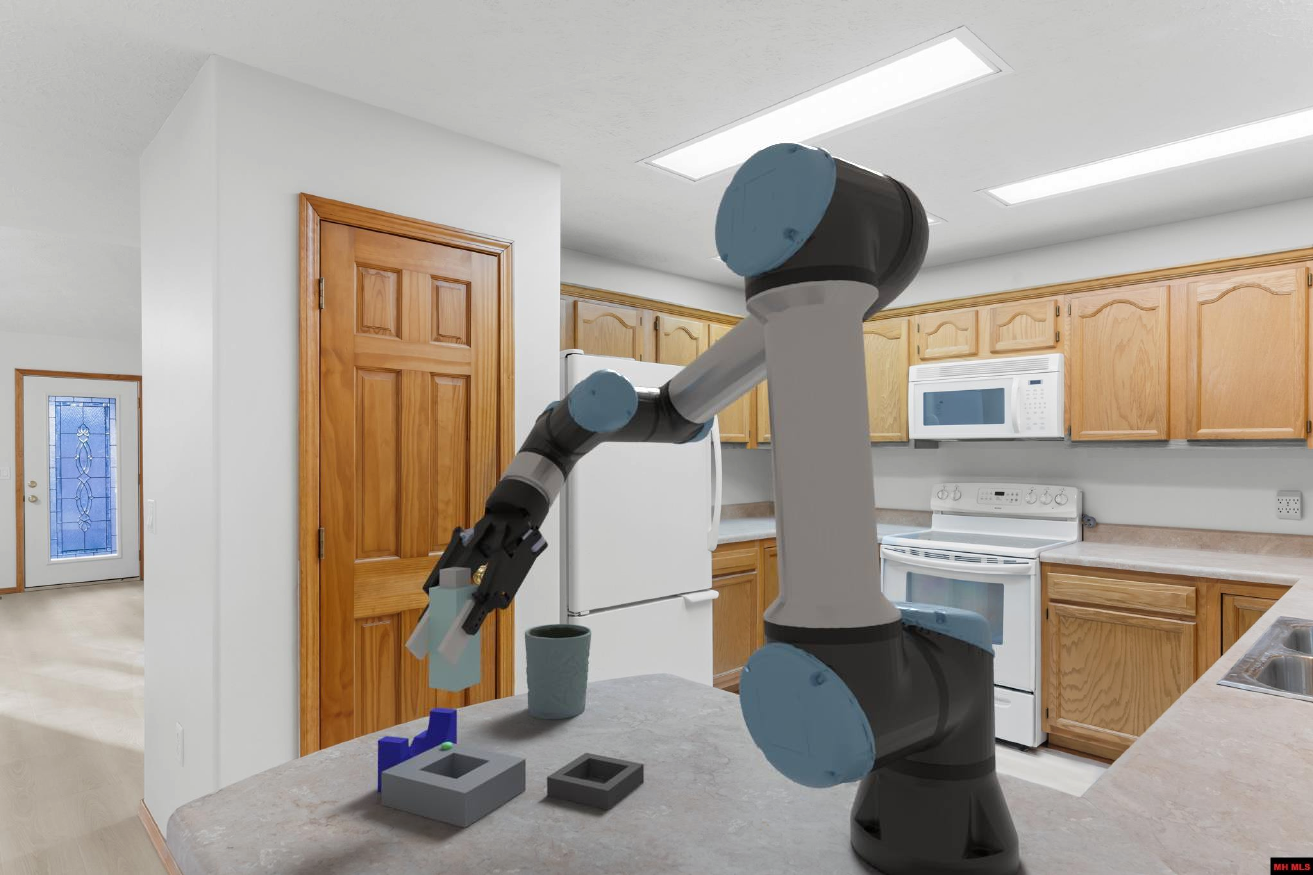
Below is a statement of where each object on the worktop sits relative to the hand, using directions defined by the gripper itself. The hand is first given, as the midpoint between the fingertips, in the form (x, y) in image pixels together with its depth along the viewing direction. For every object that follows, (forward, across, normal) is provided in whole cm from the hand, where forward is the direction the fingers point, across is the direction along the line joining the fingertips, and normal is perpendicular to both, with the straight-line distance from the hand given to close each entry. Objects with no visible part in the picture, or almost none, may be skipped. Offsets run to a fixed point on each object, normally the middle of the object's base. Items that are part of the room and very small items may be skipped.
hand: (430, 654), depth 81 cm
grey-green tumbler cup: (-12, +7, -36) cm, 38 cm away
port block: (+9, 0, -14) cm, 17 cm away
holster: (+3, -13, -21) cm, 25 cm away
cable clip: (+7, +9, -17) cm, 21 cm away
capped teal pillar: (0, 0, -6) cm, 6 cm away
